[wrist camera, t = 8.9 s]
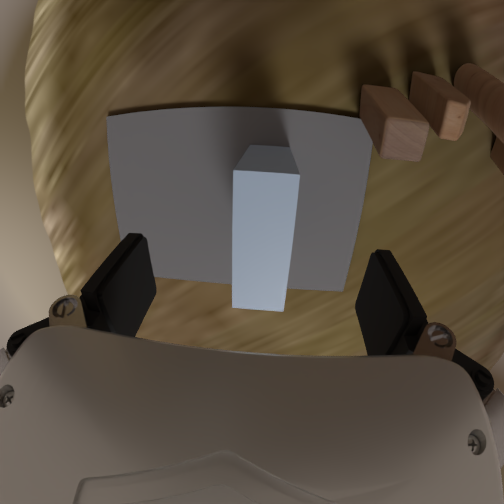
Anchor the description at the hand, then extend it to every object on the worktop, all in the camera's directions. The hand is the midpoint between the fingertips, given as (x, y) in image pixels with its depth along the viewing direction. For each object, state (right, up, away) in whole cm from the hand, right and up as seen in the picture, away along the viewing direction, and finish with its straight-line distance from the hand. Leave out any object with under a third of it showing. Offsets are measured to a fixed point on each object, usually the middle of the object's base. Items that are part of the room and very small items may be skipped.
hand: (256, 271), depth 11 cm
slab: (+1, +5, +11) cm, 12 cm away
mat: (-2, +5, +12) cm, 13 cm away
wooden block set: (+17, +13, +6) cm, 22 cm away
